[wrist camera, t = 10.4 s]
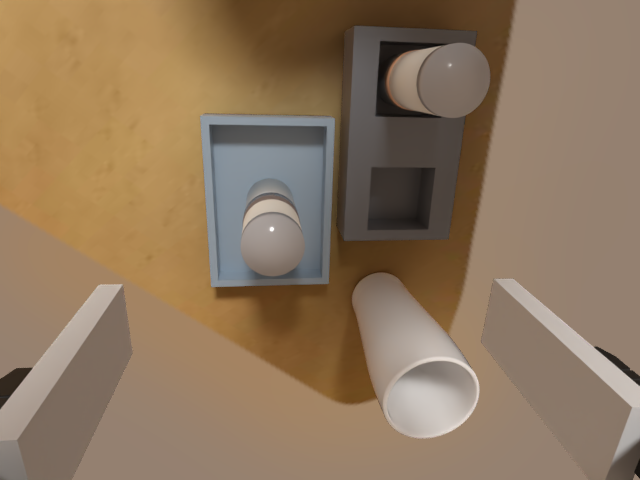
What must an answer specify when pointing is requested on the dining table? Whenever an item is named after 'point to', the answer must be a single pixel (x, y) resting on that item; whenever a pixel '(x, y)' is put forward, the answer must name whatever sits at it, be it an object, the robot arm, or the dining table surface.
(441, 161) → the fuse block
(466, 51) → the fuse
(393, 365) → the drinking glass
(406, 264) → the dining table surface
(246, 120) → the parts tray
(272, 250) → the cylinder
